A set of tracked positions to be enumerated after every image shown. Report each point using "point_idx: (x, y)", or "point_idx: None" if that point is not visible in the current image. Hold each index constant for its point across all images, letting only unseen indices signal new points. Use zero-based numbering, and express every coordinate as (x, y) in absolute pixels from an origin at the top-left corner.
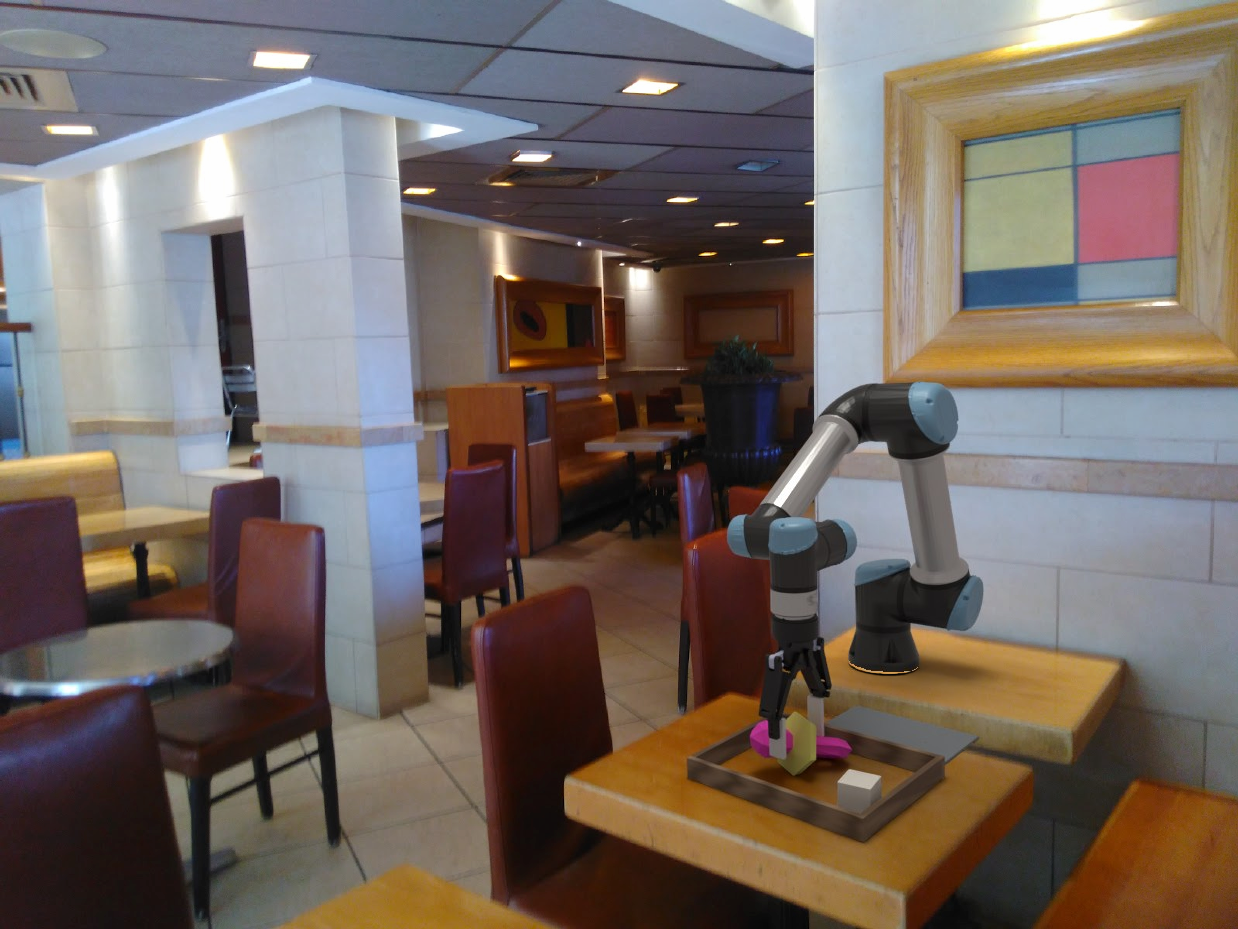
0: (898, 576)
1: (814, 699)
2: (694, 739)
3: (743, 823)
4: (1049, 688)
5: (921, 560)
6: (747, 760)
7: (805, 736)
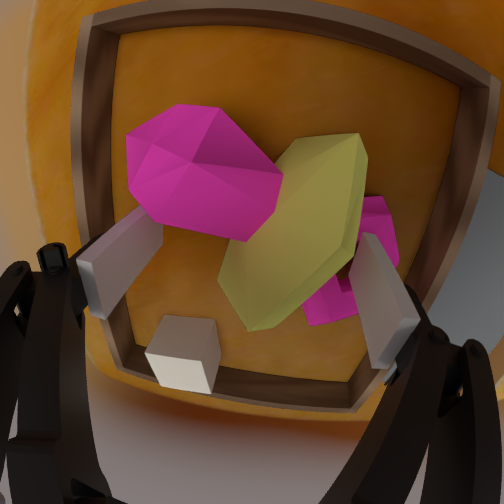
0: None
1: (385, 341)
2: None
3: (56, 210)
4: None
5: None
6: (266, 64)
7: (236, 291)
